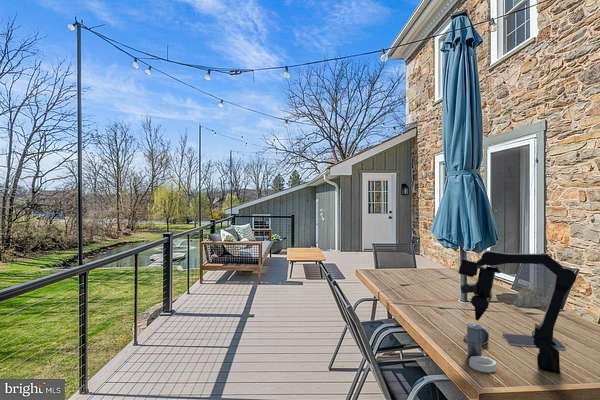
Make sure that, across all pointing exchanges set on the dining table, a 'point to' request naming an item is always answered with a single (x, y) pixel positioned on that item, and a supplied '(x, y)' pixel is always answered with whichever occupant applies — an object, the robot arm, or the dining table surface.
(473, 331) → the canister
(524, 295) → the ceramic cottage
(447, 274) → the dining table surface
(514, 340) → the notebook
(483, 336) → the ceramic mug
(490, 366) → the collar
